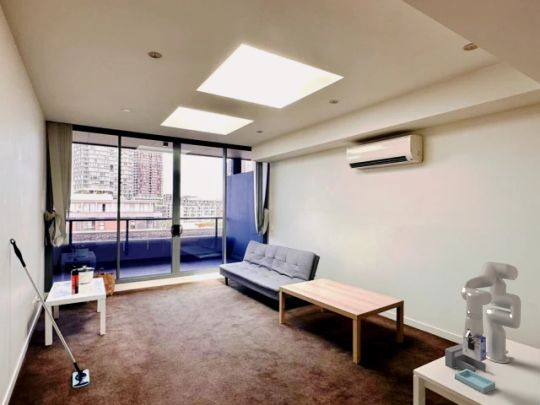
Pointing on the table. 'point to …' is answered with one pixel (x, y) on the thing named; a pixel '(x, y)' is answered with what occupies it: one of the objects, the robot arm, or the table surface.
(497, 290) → the robot arm
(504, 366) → the table surface
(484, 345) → the ink cartridge box
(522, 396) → the table surface
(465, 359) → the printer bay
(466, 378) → the tray
